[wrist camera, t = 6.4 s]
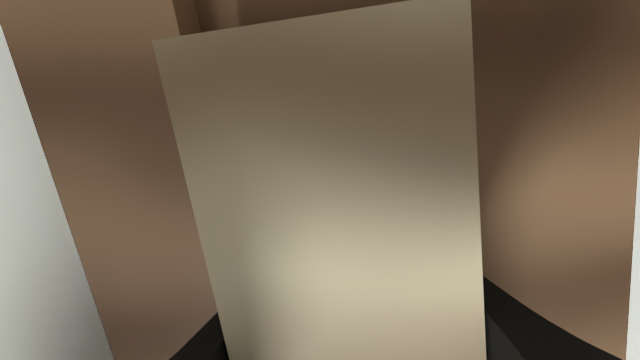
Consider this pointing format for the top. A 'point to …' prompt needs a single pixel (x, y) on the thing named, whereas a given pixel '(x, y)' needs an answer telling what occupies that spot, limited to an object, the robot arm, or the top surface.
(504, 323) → the robot arm
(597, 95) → the board
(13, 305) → the top surface
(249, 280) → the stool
